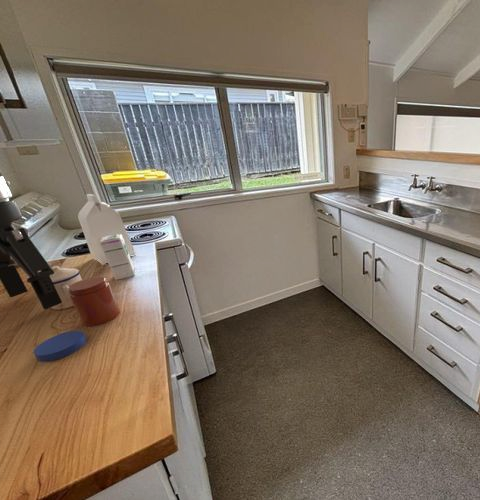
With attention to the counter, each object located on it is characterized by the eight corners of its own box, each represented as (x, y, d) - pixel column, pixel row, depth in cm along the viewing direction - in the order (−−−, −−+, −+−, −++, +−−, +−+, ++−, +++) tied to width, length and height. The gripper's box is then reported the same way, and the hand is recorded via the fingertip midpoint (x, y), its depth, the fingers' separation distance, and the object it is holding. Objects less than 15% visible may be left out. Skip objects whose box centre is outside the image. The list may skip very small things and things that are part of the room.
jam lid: (79, 332, 71) (76, 326, 70) (92, 343, 67) (89, 337, 66) (32, 353, 64) (28, 347, 64) (43, 367, 60) (39, 360, 59)
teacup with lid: (47, 304, 84) (29, 269, 80) (86, 291, 91) (71, 258, 86) (55, 317, 77) (35, 280, 73) (96, 302, 84) (81, 267, 80)
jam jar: (81, 330, 72) (64, 294, 68) (83, 316, 78) (68, 282, 74) (120, 317, 76) (106, 283, 72) (120, 305, 82) (106, 273, 78)
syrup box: (135, 275, 100) (121, 237, 95) (114, 280, 97) (98, 241, 92) (135, 270, 105) (122, 233, 99) (115, 274, 102) (100, 236, 96)
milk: (92, 259, 116) (66, 196, 107) (125, 249, 125) (103, 191, 115) (102, 265, 110) (75, 199, 100) (136, 255, 119) (114, 193, 109)
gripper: (47, 201, 51) (90, 301, 60) (-18, 194, 60) (28, 282, 68) (-14, 212, 45) (44, 321, 53) (-76, 202, 54) (-18, 298, 62)
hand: (35, 299), depth 61 cm, fingers open, 13 cm apart
